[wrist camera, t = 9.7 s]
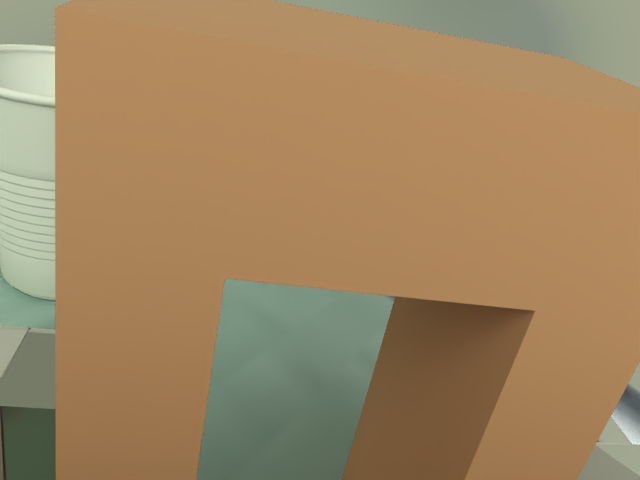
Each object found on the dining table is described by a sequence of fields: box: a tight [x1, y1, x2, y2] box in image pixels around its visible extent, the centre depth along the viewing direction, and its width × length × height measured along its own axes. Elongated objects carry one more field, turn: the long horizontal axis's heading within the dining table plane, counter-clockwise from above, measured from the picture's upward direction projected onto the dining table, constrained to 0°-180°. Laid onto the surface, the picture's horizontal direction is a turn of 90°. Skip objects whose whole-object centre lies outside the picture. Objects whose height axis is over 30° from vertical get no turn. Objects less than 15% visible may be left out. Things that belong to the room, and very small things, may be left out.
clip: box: [55, 0, 640, 480], centre depth 9 cm, size 6×4×12 cm, turn 97°
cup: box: [0, 44, 55, 300], centre depth 30 cm, size 10×10×11 cm
